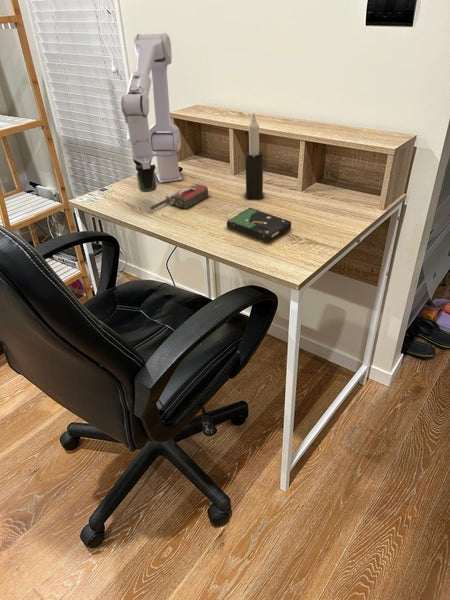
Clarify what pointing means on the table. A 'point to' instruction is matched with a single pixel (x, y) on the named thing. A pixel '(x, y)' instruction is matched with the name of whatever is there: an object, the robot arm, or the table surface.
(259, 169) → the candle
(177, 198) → the walkie-talkie
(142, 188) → the green cup
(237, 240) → the table surface
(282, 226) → the disk drive
